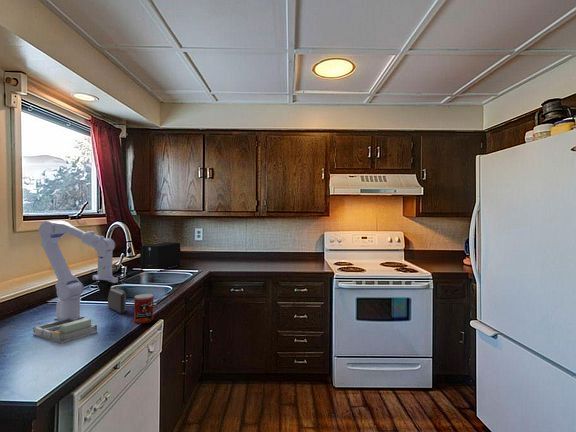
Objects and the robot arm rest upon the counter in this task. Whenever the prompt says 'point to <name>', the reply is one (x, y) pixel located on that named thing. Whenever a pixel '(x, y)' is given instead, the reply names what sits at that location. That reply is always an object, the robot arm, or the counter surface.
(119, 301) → the leaning round-cornered charcoal block
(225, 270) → the counter surface
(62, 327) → the pale green rectangular box
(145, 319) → the canned food
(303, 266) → the counter surface
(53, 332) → the rack
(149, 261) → the uninterruptible power supply
